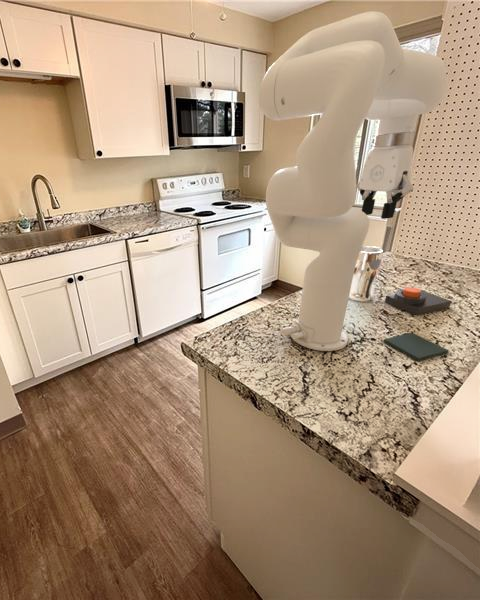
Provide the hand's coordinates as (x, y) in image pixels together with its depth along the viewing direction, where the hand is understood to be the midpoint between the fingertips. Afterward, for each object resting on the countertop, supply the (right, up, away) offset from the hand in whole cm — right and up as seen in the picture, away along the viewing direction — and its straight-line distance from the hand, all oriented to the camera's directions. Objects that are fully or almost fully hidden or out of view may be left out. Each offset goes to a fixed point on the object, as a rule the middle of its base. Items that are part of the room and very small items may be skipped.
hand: (376, 215), depth 84 cm
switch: (+10, -22, +1) cm, 24 cm away
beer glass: (+2, -22, +10) cm, 25 cm away
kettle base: (+13, -24, +3) cm, 28 cm away
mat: (-2, -34, -14) cm, 36 cm away
